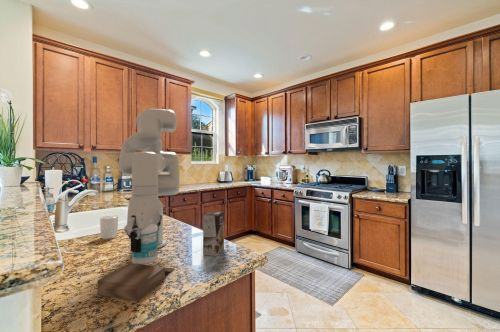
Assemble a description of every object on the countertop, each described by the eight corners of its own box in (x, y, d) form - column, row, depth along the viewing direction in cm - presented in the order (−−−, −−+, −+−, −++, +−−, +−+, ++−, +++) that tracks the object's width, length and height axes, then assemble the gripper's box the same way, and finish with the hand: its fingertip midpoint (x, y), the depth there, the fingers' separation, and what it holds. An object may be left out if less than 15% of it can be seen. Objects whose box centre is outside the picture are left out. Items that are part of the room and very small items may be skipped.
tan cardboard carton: (97, 297, 66) (97, 280, 66) (146, 267, 85) (146, 254, 85) (137, 304, 63) (137, 286, 63) (178, 272, 82) (178, 257, 82)
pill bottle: (137, 256, 79) (137, 215, 78) (160, 255, 79) (160, 214, 79) (127, 265, 71) (127, 220, 71) (153, 264, 72) (153, 220, 72)
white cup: (121, 236, 120) (121, 216, 120) (104, 240, 113) (105, 219, 113) (113, 234, 124) (113, 214, 124) (96, 237, 117) (96, 217, 117)
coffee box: (217, 256, 94) (217, 215, 94) (202, 255, 95) (202, 214, 95) (224, 248, 103) (224, 211, 103) (210, 247, 104) (210, 210, 104)
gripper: (152, 188, 84) (152, 238, 84) (113, 193, 68) (112, 256, 68) (171, 188, 83) (171, 239, 83) (135, 194, 66) (135, 259, 66)
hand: (145, 246), depth 75 cm, fingers closed on pill bottle, 7 cm apart
